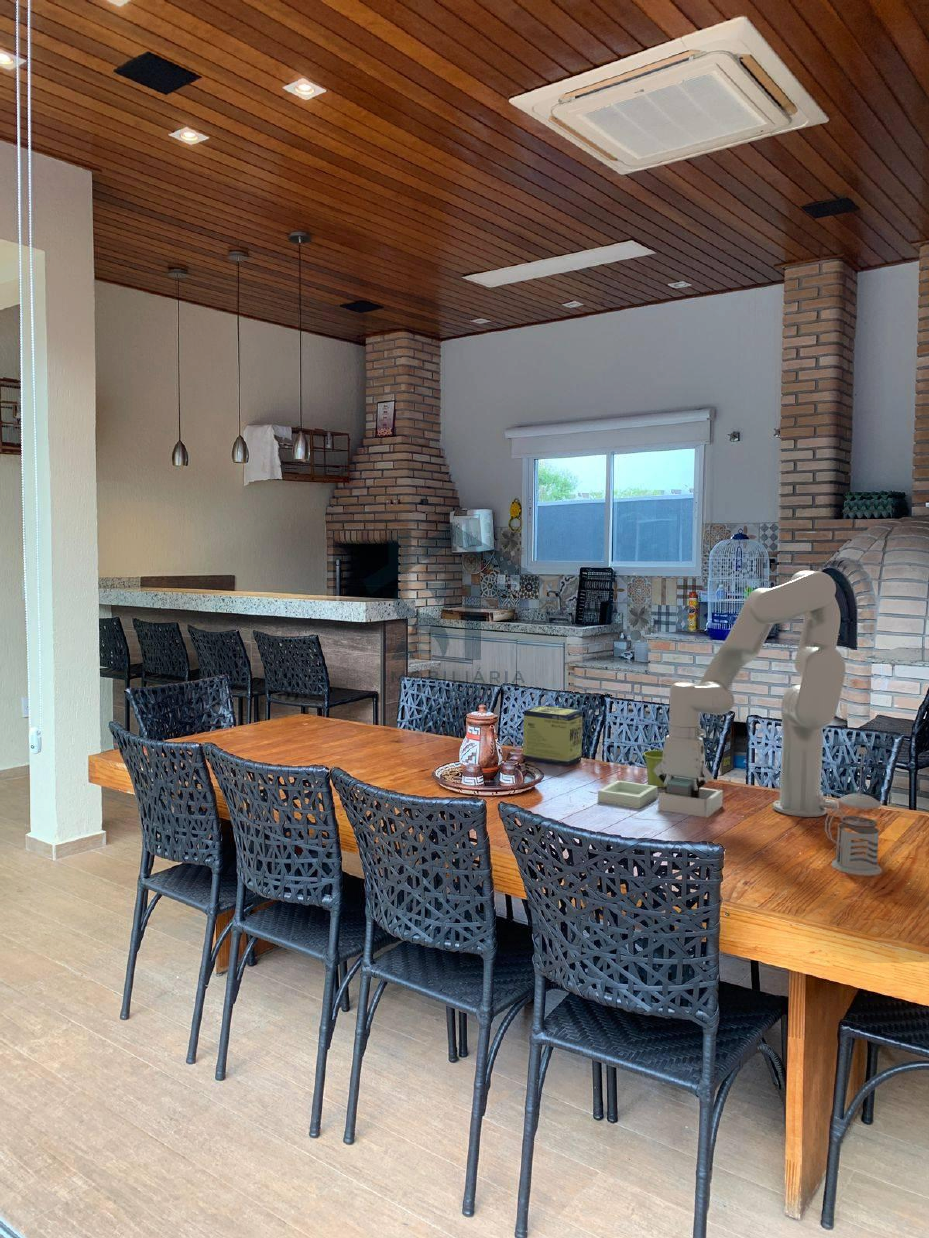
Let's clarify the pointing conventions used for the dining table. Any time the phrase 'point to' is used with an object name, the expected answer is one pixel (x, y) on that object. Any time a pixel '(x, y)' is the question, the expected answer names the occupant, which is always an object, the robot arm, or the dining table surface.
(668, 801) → the bay
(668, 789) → the grey cube with lid
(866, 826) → the french press
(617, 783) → the tray
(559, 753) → the protein box
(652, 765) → the plant pot
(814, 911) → the dining table surface
